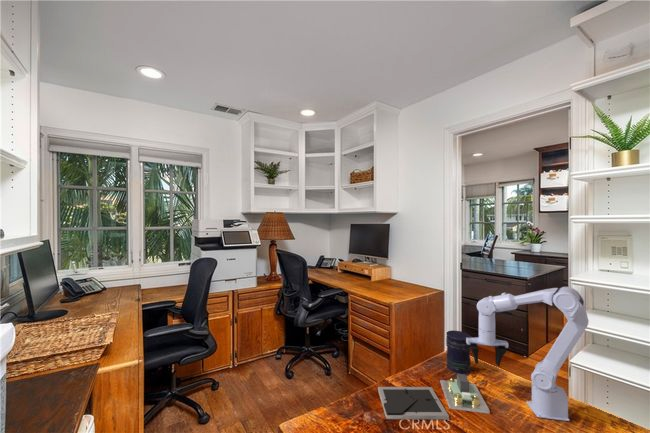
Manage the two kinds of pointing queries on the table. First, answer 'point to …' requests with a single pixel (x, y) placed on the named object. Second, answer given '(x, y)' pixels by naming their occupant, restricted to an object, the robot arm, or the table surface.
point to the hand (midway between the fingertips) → (486, 363)
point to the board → (455, 390)
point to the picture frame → (411, 403)
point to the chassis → (461, 404)
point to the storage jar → (458, 352)
